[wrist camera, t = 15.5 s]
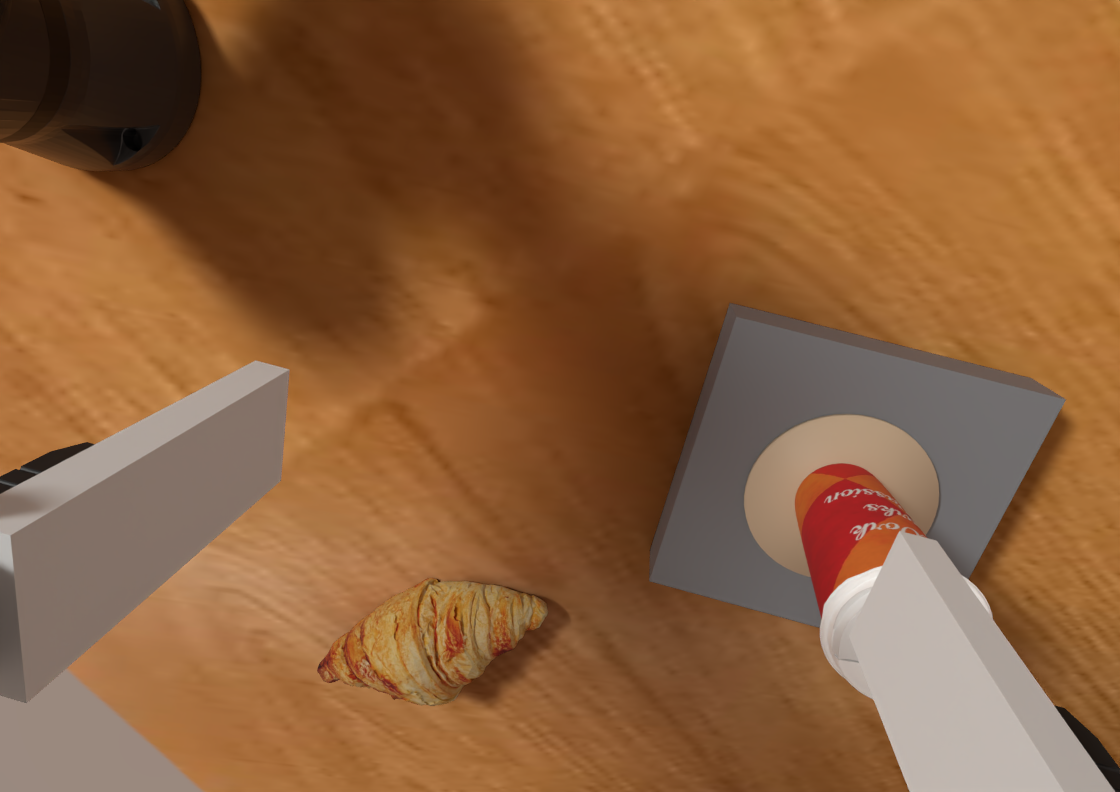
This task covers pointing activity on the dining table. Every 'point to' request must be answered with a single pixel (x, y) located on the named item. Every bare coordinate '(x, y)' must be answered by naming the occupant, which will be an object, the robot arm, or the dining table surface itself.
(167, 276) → the dining table surface
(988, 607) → the paper cup
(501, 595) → the croissant
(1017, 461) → the plinth
